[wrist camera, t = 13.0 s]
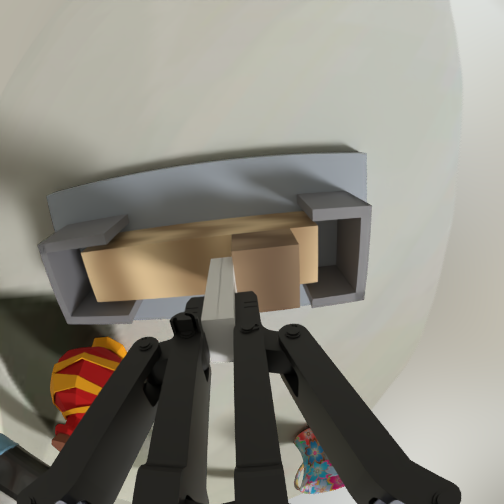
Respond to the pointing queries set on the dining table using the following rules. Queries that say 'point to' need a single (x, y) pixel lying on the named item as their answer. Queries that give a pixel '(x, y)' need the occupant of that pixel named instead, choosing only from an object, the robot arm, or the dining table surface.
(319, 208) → the grey slat holder base
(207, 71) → the dining table surface
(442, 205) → the dining table surface
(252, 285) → the tan stepped wooden block
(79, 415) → the potion bottle
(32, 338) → the dining table surface
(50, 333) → the dining table surface
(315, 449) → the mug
